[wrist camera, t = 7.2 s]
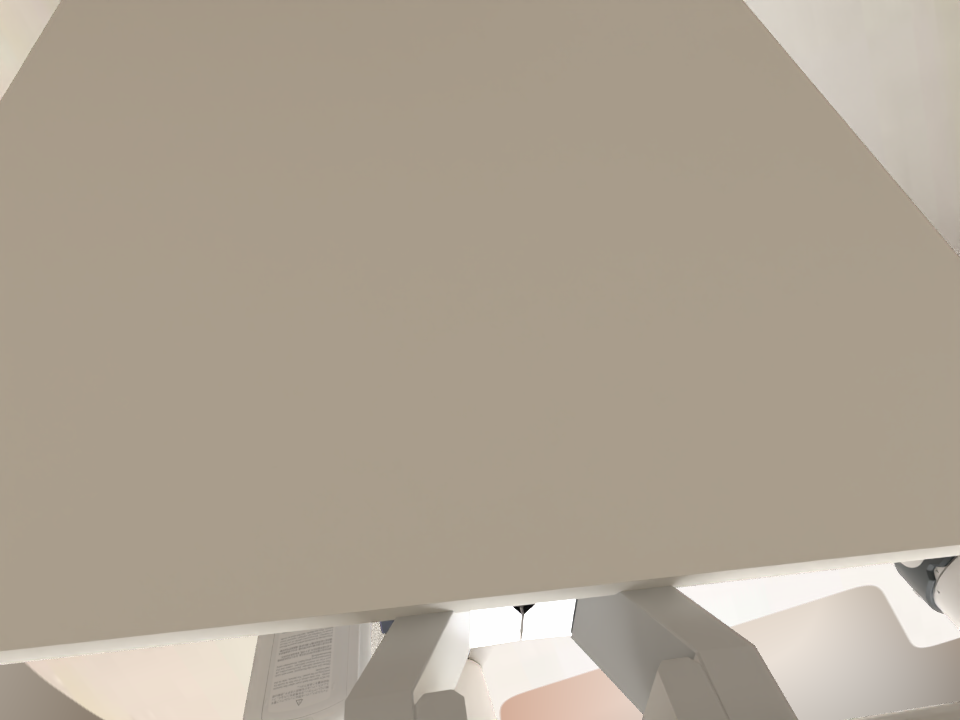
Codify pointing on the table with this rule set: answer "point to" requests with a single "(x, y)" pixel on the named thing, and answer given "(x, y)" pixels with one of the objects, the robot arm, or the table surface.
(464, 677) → the foam cup
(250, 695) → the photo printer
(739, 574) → the lid flap
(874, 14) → the table surface
